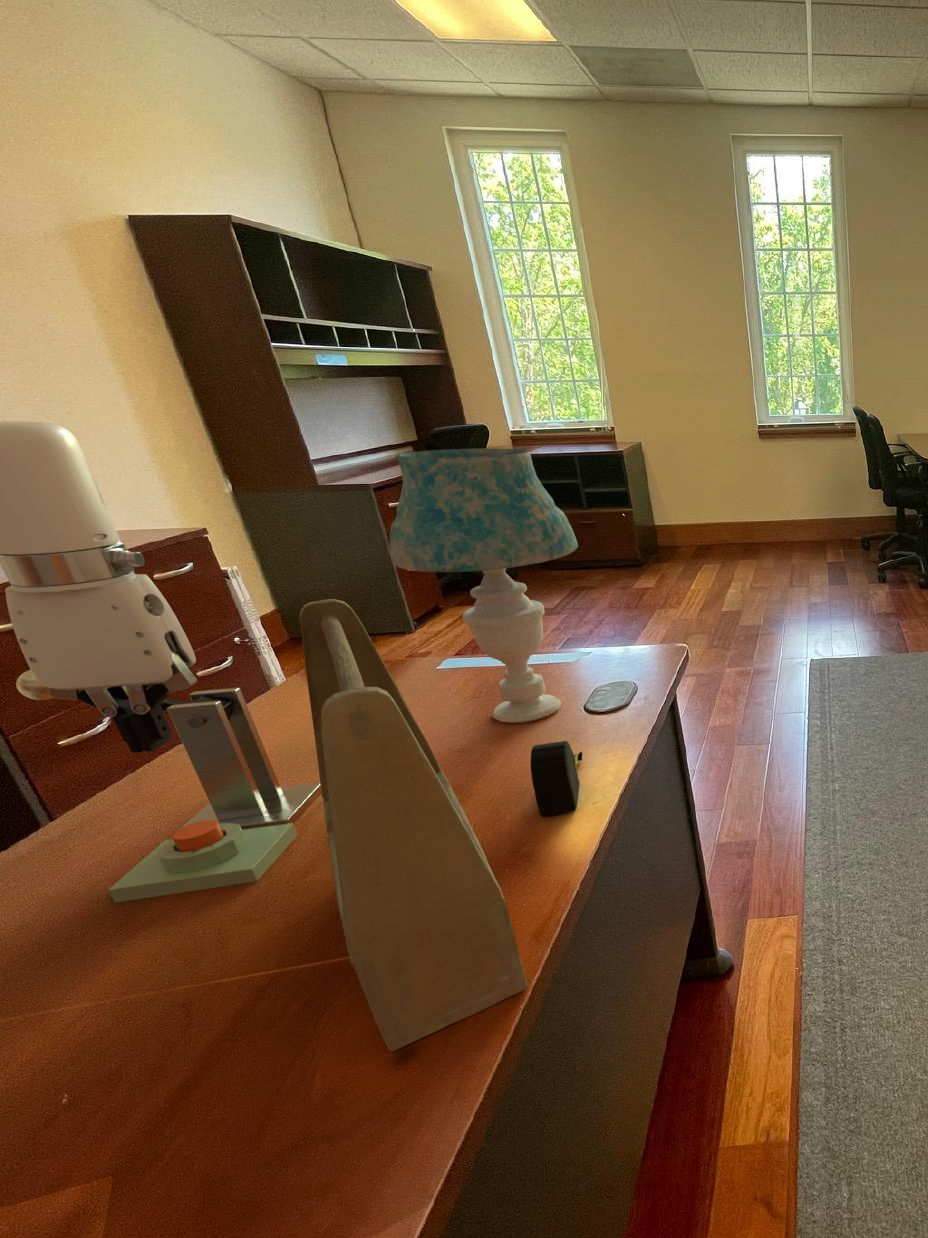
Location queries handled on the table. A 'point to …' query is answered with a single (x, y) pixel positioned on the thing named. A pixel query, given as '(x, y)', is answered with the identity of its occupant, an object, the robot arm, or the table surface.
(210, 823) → the button
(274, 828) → the button box
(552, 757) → the tape measure
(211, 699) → the lever
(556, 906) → the table surface
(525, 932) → the table surface
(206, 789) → the bracket
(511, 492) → the table lamp
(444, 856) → the caddy
